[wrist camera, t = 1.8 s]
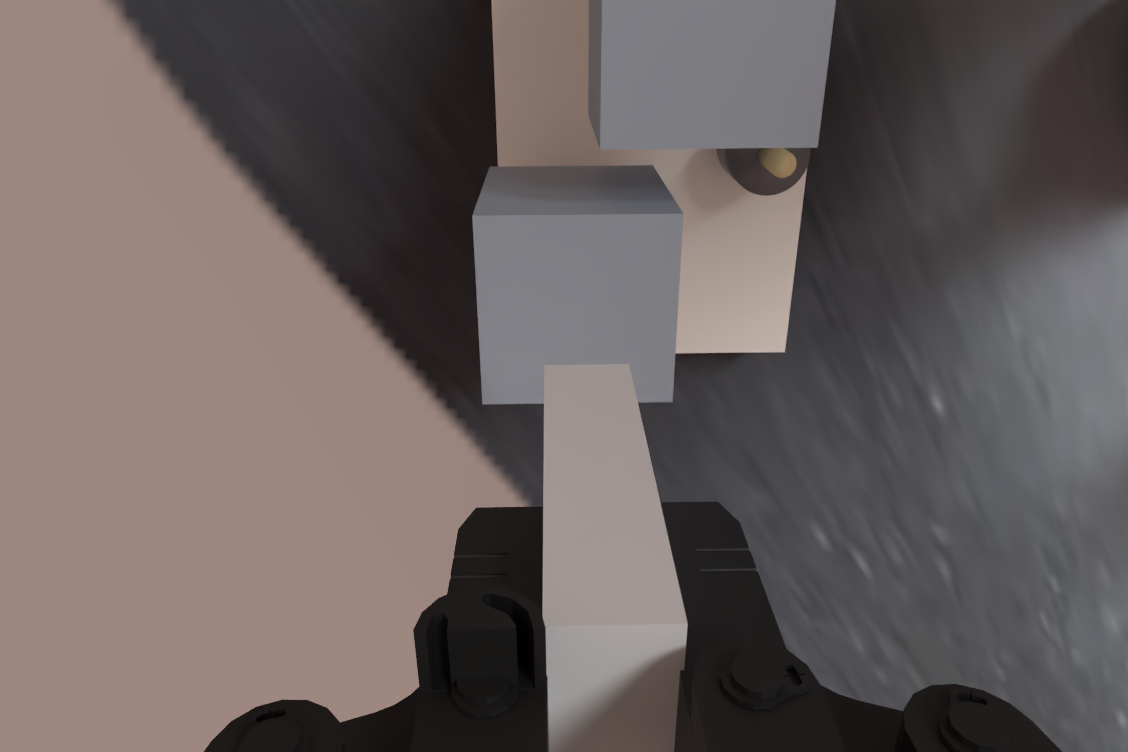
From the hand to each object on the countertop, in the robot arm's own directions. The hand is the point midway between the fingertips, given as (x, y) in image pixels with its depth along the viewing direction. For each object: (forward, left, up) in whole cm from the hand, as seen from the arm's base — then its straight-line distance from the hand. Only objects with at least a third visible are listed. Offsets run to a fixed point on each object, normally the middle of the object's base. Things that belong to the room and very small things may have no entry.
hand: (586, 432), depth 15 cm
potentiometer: (-7, -3, -16) cm, 18 cm away
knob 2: (-3, -7, -12) cm, 14 cm away
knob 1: (0, 0, -12) cm, 12 cm away
